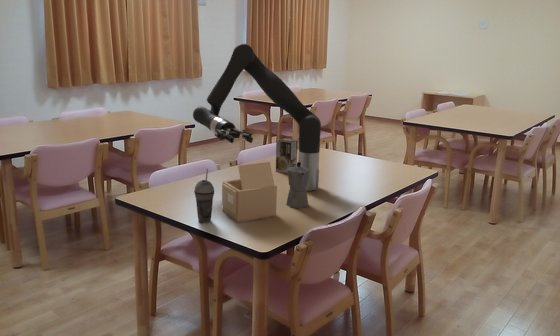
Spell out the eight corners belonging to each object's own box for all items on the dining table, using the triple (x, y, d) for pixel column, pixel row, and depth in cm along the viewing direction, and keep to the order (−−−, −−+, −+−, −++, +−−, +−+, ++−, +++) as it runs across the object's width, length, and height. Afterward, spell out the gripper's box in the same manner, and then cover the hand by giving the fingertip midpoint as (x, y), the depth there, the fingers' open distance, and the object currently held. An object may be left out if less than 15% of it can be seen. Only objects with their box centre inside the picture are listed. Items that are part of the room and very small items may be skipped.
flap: (242, 190, 183) (238, 165, 184) (273, 185, 190) (269, 162, 191) (243, 189, 183) (238, 165, 184) (274, 185, 189) (269, 161, 190)
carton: (219, 210, 197) (219, 181, 194) (259, 204, 206) (260, 176, 203) (236, 223, 185) (236, 192, 182) (278, 215, 194) (278, 185, 191)
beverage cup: (195, 217, 190) (194, 166, 184) (214, 217, 190) (214, 166, 185) (193, 224, 182) (193, 171, 177) (214, 224, 183) (214, 171, 178)
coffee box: (296, 171, 257) (298, 140, 253) (290, 174, 252) (291, 142, 247) (281, 168, 262) (282, 138, 257) (275, 171, 256) (275, 140, 252)
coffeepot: (312, 209, 202) (315, 166, 198) (290, 210, 200) (291, 166, 195) (302, 197, 217) (304, 156, 212) (281, 198, 215) (282, 157, 210)
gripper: (208, 118, 203) (228, 131, 191) (238, 119, 211) (259, 131, 199) (205, 136, 205) (225, 149, 193) (236, 136, 214) (256, 149, 201)
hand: (242, 140), depth 196 cm, fingers open, 8 cm apart
